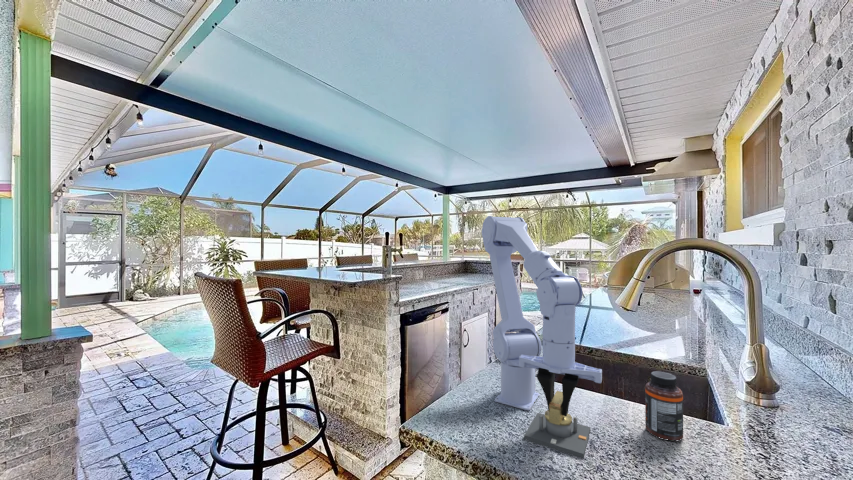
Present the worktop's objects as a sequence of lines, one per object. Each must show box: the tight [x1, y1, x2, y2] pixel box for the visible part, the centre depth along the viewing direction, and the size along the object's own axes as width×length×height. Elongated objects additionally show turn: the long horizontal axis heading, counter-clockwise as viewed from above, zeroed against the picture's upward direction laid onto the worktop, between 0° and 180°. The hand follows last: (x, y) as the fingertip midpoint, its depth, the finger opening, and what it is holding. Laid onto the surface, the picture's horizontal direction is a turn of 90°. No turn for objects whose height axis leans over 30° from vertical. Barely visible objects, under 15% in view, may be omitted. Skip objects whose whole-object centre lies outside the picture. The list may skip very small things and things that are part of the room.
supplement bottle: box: [644, 370, 684, 441], centre depth 64 cm, size 6×6×11 cm
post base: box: [523, 412, 591, 460], centre depth 62 cm, size 10×10×3 cm
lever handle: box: [544, 390, 573, 426], centre depth 63 cm, size 7×5×4 cm
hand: (558, 411), depth 63 cm, fingers closed on lever handle, 2 cm apart
